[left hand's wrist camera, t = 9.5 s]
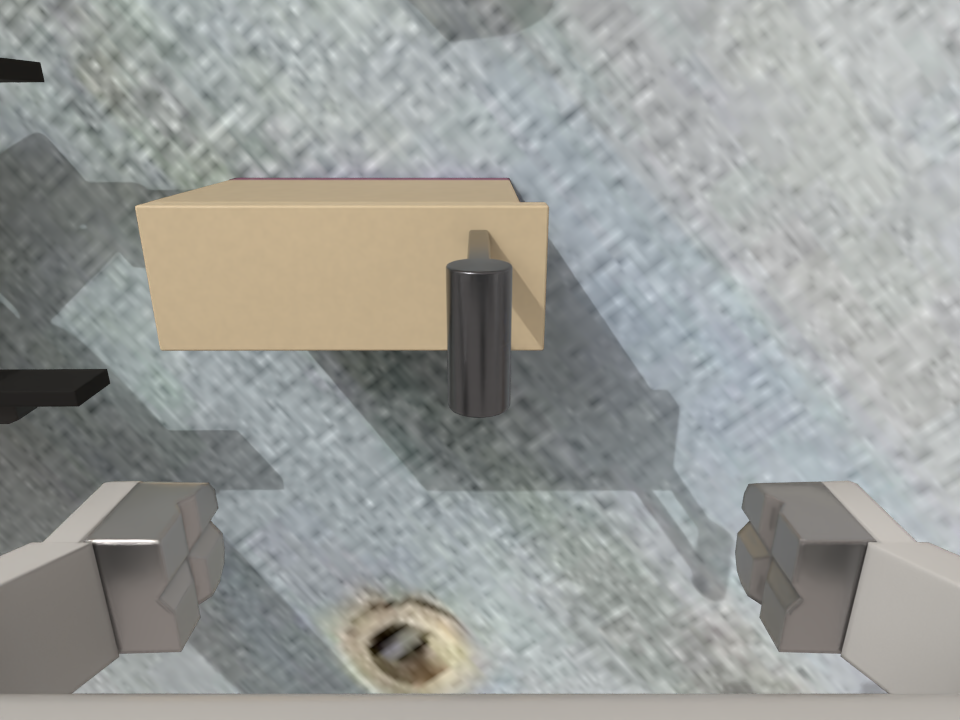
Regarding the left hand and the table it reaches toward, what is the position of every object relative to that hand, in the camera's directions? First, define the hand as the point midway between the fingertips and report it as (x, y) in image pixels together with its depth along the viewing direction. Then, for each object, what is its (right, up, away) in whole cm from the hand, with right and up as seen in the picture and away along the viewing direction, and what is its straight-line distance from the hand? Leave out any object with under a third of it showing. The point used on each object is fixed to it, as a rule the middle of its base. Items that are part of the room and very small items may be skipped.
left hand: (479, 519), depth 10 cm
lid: (-5, +6, +15) cm, 17 cm away
